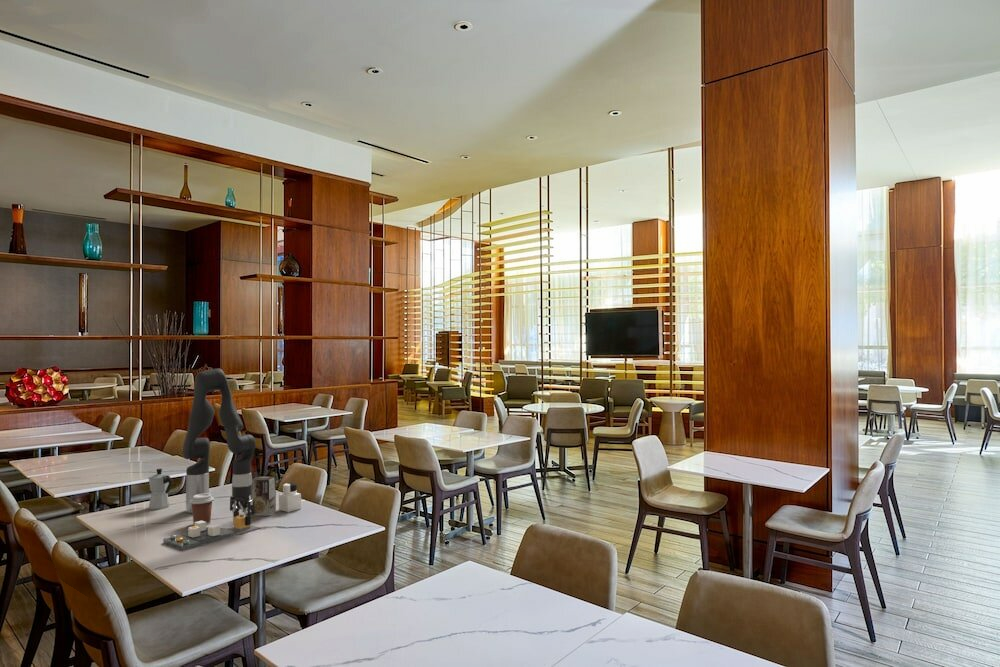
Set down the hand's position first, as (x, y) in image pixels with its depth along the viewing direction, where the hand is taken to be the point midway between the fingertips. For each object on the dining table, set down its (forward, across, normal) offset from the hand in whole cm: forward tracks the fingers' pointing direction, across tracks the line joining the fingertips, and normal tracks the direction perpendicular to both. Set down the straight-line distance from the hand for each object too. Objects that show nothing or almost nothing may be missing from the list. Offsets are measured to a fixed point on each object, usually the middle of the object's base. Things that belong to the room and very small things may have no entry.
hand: (242, 523), depth 238 cm
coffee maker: (+3, -63, -3) cm, 63 cm away
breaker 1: (+1, -8, -13) cm, 15 cm away
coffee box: (+3, -13, +18) cm, 22 cm away
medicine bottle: (+3, -9, +29) cm, 30 cm away
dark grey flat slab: (+3, -3, -16) cm, 16 cm away
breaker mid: (+1, -3, -18) cm, 18 cm away
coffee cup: (+3, -22, -5) cm, 23 cm away
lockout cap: (+2, 0, 0) cm, 2 cm away
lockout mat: (+3, 0, 0) cm, 3 cm away
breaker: (+1, +2, -13) cm, 13 cm away
